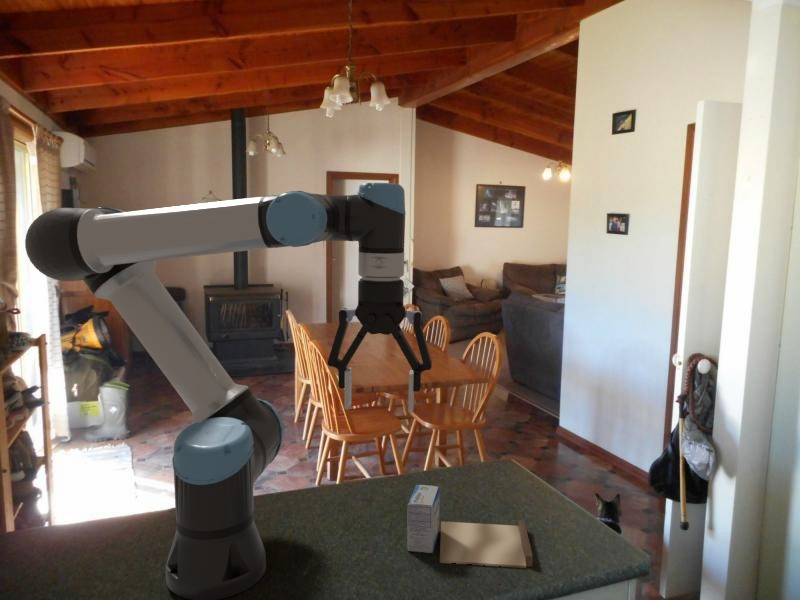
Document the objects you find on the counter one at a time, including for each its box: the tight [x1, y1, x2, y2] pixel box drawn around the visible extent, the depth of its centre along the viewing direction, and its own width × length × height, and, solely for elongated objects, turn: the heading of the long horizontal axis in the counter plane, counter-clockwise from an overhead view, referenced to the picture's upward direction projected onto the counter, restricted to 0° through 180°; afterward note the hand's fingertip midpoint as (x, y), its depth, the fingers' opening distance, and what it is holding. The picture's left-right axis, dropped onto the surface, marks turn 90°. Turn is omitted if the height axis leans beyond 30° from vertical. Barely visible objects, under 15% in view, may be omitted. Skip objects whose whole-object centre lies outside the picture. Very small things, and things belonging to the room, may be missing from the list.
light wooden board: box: [439, 521, 527, 569], centre depth 108 cm, size 14×13×1 cm
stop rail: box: [517, 519, 534, 568], centre depth 107 cm, size 1×12×2 cm, turn 175°
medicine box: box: [406, 484, 441, 554], centre depth 108 cm, size 8×4×9 cm, turn 168°
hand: (379, 408), depth 106 cm, fingers open, 10 cm apart
